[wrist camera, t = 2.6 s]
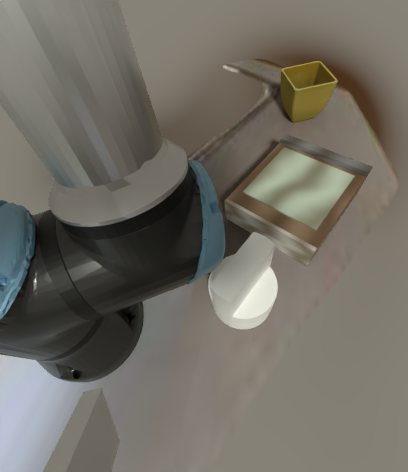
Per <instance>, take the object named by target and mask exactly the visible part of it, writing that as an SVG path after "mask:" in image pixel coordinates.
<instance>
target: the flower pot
mask: <svg viewBox="0 0 408 472" xmlns="http://www.w3.org/2000/svg"><path fill="white" fill-rule="evenodd" d="M337 82H338V81H337V79H336V78H335V77H334V76H333V74H332V73H331V72H330V71H329V70H328V69H327V68H326V67H325V66H324V64H323V63H321V62H320V61H315V62H310V63H306V64H301V65H297V66H291V67H287V68H283V69H281V88H280V92H281V100H282V103H283V106H284V109H285V111H286V112H287V114H288V116H289V117H290V119H291V121H292V122H297V121H302V120H307V119H311V118H314V117H315V116H316V115H318V114H319V113H320V112H321V111H322V110H323V108H324V107H325V106H326V104H327V103H328V101H329V99H330V97H331V95H332V92H333V90H334V88H335V86H336V84H337Z"/></svg>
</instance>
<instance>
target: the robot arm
mask: <svg viewBox="0 0 408 472" xmlns="http://www.w3.org/2000/svg"><path fill="white" fill-rule="evenodd" d="M0 105H1V106H2V107H3V109H4V110H5V111H6V113H7V114H8V116H9V117H10V118H11V120H12V121H13V123H14V124H15V125H16V127H17V128H18V129H19V131H20V132H21V133H22V135H23V136H24V138H25V139H26V141H27V142H28V143H29V145H30V146H31V147H32V149H33V150H34V152H35V153H36V154H37V156H38V157H39V158H40V160H41V161H42V162H43V164H44V165H45V167H46V168H47V170H48V171H49V172H50V174H51V175H52V177H53V178H54V181H53V184H52V188H51V191H50V195H49V207H50V209H51V210H48V211H45V212H42V213H39V214H36V215H31V214H30V212H29V211H28V210H27V209H26V208H24V207H23V206H20V205H16V204H14V203H8V202H6V201H3V200H0V354H1V355H7V356H13V357H20V358H26V359H32V360H36V361H37V362H38V363H39V364H40V365H41V366H42V367H43V368H44V369H45V370H46V371H48V372H49V373H50V374H51V375H53V376H55V377H57V378H59V379H61V380H65V381H71V382H90V381H94V380H97V379H100V378H102V377H105V376H107V375H108V374H110V373H112V372H113V371H114V370H116V369H117V368H118V367H119V366H121V365H122V364H123V363H124V361H125V360H126V359H127V358H128V357H129V356H130V354H131V353H132V351H133V350H134V348H135V346H136V344H137V342H138V340H139V337H140V334H141V330H142V326H143V309H142V304H141V301H144V300H146V299H149V298H152V297H154V296H157V295H159V294H162V293H165V292H167V291H170V290H172V289H175V288H177V287H180V286H183V285H185V284H190V283H193V282H194V281H195V280H196V279H197V278H199V277H201V276H203V275H205V274H207V273H209V272H212V271H214V270H215V269H216V268H217V267H218V266H219V265H220V264H221V262H222V260H223V257H224V253H225V230H224V223H223V217H222V213H221V211H220V210H219V208H218V198H217V194H216V191H215V188H214V186H213V183H212V181H211V179H210V176H209V174H208V173H207V171H206V169H205V168H204V167H203V165H202V164H201V163H200V162H198V161H195V160H188V158H187V155H186V153H185V151H184V150H183V148H182V147H180V146H179V145H178V144H176V143H174V142H172V141H170V140H168V139H166V138H164V137H162V136H161V133H160V130H159V127H158V124H157V120H156V117H155V114H154V111H153V108H152V105H151V101H150V98H149V95H148V92H147V89H146V86H145V82H144V79H143V76H142V73H141V70H140V67H139V64H138V60H137V57H136V54H135V51H134V48H133V45H132V41H131V38H130V35H129V32H128V29H127V25H126V23H125V19H124V16H123V13H122V10H121V7H120V3H119V1H118V0H0ZM119 442H120V439H119V436H118V433H117V431H116V428H115V425H114V422H113V419H112V416H111V414H110V411H109V408H108V405H107V402H106V399H105V397H104V394H103V391H102V389H97V390H92V391H88V392H83V394H82V396H81V398H80V400H79V402H78V404H77V406H76V408H75V410H74V412H73V414H72V416H71V418H70V420H69V422H68V424H67V426H66V428H65V430H64V432H63V434H62V436H61V438H60V440H59V442H58V444H57V446H56V448H55V449H54V451H53V453H52V455H51V457H50V459H49V461H48V463H47V465H46V467H45V469H44V471H43V472H111V471H112V468H113V464H114V460H115V457H116V453H117V449H118V446H119Z"/></svg>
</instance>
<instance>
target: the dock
mask: <svg viewBox="0 0 408 472" xmlns="http://www.w3.org/2000/svg"><path fill="white" fill-rule="evenodd" d="M371 169H372V167H371V166H369V165H366V164H363V163H361V162H358V161H355V160H353V159H350V158H347V157H345V156H342V155H340V154H337V153H334V152H332V151H329V150H326V149H324V148H321V147H318V146H316V145H313V144H311V143H308V142H305V141H303V140H300V139H297V138H295V137H292V136H289V135H287V134H284V135H283V136H282V137H281V138H280V143H279V144H278V145H277V146H276V147H275V148H274V149H273V150H272V151H271V152H270V153H269V154H268V155H267V157H266V158H265V159H264V160H263V161H262V162H261V163H260V164H259V165H258V166H257V167H256V168H255V169H254V170H253V171H252V172H251V173H250V174H249V175H248V176H247V177H246V179H245V180H244V181H243V182H242V183H241V184H240V185H239V186H238V187H237V188H236V189H235V190H234V191H233V192H232V193H231V194H230V195H229V196H228V197H227V198H226V199H225V216H226V219H228V220H230V221H231V222H233V223H235V224H236V225H238V226H240V227H241V228H243V229H245V230H247V231H248V232H250V233H253V232H256V233H259V234H261V235H263V236H266V237H267V238H268V239H270V240H271V241H272V242H274V244H275V248H277V249H278V250H280V251H282V252H284V253H285V254H287V255H289V256H290V257H292V258H294V259H295V260H297V261H299V262H300V263H302V264H304V265H305V266H307V265H308V264H309V262H310V261H311V259H312V258H313V256H314V255H315V254H316V252H317V251H318V249H319V248H320V246H321V245H322V243H323V242H324V240H325V239H326V238H327V236H328V235H329V233H330V232H331V230H332V229H333V227H334V226H335V224H336V223H337V221H338V220H339V219H340V217H341V216H342V214H343V213H344V211H345V210H346V208H347V207H348V205H349V204H350V203H351V201H352V200H353V198H354V197H355V195H356V194H357V192H358V191H359V189H360V187H361V186H362V184H363V182H364V181H365V179H366V177H367V176H368V174H369V172H370V171H371Z"/></svg>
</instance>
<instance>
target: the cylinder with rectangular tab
mask: <svg viewBox="0 0 408 472" xmlns="http://www.w3.org/2000/svg"><path fill="white" fill-rule="evenodd" d="M274 249H275V244H274V242H272V241H271V240H270V239H268V238H267V237H266V236H263V235H261V234H259V233H256V232H253V233H252V234H251V235H250V237H249V238H248V239H247V240H246V241H245V243H244V244H243V245H242V246H241V247H240V249H239V250H238V251H237V252H236V254H234V255H230V256H228V257H226V258H224V259H223V260H222V262H221V264H220V265H219V266H218V267H217V268H216V269H215V270H214V271H212V272H211V274H210V277H209V285H208V289H209V293H210V297H211V300H212V304H213V308H214V310H215V312H216V314H217V316H218V317H219V318H220V319H221V320H222V321H223V322H224V323H225V324H227V325H229V326H230V327H233V328H237V329H250V328H254V327H256V326H258V325H259V324H261V323H262V322H263V321H264V320H265V319H266V318H267V317H268V315H269V313H270V311H271V308H272V306H273V304H274V301H275V299H276V295H277V289H278V287H277V279H276V277H275V274H274V272H273V270H272V269H271V268H270V264H271V260H272V256H273V252H274Z"/></svg>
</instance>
